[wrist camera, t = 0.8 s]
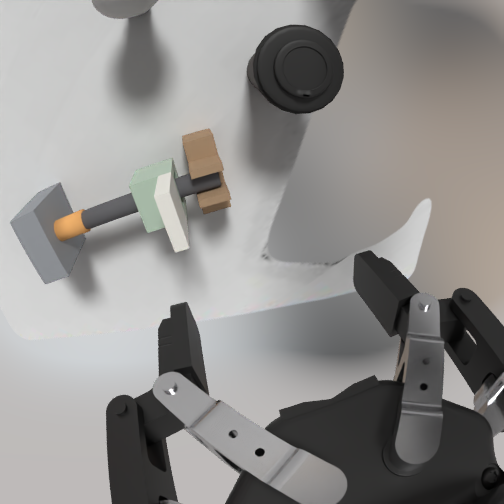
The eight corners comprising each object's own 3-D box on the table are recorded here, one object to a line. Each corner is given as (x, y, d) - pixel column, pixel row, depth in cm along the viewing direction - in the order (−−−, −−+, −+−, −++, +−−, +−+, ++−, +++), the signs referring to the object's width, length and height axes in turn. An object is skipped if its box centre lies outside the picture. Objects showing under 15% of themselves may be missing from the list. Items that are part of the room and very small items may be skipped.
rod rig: (209, 128, 31) (217, 142, 24) (225, 193, 35) (237, 223, 29) (33, 194, 29) (4, 224, 22) (59, 248, 34) (40, 286, 27)
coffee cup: (258, 118, 31) (288, 133, 23) (219, 58, 27) (236, 48, 18) (317, 84, 30) (364, 90, 22) (283, 25, 26) (323, 9, 18)
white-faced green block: (172, 158, 29) (169, 191, 21) (185, 200, 32) (189, 248, 24) (136, 170, 29) (119, 208, 21) (151, 211, 32) (143, 262, 23)
